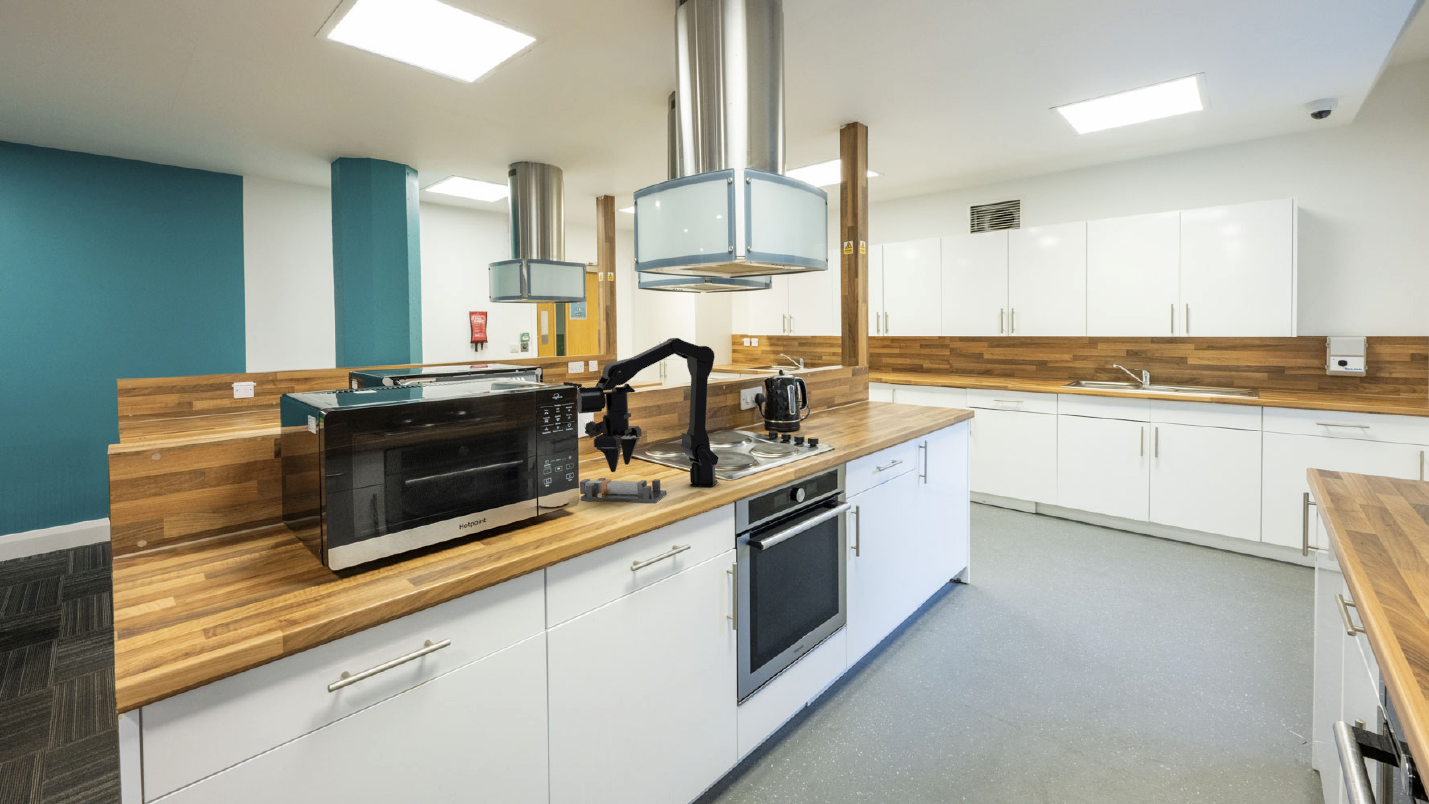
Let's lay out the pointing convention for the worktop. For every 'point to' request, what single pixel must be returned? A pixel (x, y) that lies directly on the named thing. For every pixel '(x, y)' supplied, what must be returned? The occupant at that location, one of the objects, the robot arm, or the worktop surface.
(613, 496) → the cradle
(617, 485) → the tube
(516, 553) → the worktop surface
